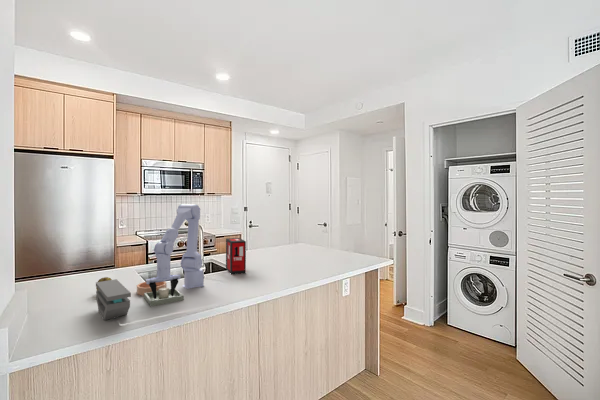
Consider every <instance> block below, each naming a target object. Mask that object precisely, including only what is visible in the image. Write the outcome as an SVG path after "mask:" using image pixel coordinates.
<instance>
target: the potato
mask: <svg viewBox="0 0 600 400" xmlns="http://www.w3.org/2000/svg"><path fill="white" fill-rule="evenodd" d="M108 280H113V279H112V278H111V277H108V276H104V277H102V278H100V279H98V280H97V282H102V281H108ZM95 287H96V286H95ZM97 290H98V288H97V287H96V291H97Z"/></svg>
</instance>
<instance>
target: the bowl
mask: <svg viewBox="0 0 600 400" xmlns="http://www.w3.org/2000/svg"><path fill="white" fill-rule="evenodd" d="M167 284H168V283H167V281H163V282H157V283H156V285H157V287H156V291H158V290H159V289H161V288H168V287H167V286H168V285H167ZM148 292H152V290H151V287H150V286H149V284H146V281H143V282H141V283H140V282H139V283H138V284H137V285H136V294H137V295H138V296H143V297H144V293H148Z"/></svg>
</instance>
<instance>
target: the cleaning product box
mask: <svg viewBox="0 0 600 400" xmlns="http://www.w3.org/2000/svg"><path fill="white" fill-rule="evenodd" d="M246 243H247V241H245V240H244V239H242V238H240V237H233V238H231V237H230V238H225V269H226V270H227V272H228V273H229V272H230V273H231V274H230V273H229V274H230V275H232V274H233V275H241V273H243V274H246V271H247V270H246V269H247V268H246V267H247V266H246V263H247V262H246V259H247V257H246V255H247V253H246V251H247V249H246V248H247V245H246Z"/></svg>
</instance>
